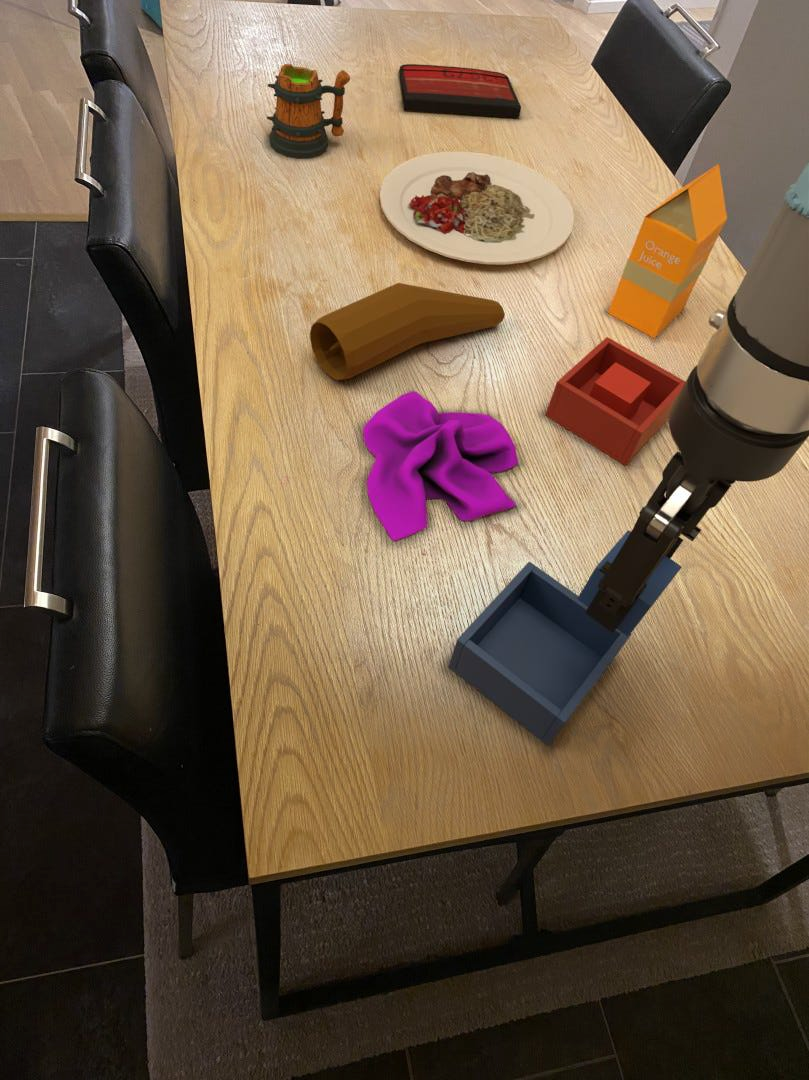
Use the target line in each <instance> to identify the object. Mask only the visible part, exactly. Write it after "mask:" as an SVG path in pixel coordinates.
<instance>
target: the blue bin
mask: <svg viewBox="0 0 809 1080" xmlns="http://www.w3.org/2000/svg"><path fill="white" fill-rule="evenodd" d="M578 596H579V594H577V593H575V592H573V591H572V590H570V589H569V588H568V587H566V586H565V585H564V584H562V583H561V582H560V581H558V580H557V579H555V578H554V577H552V576H551V575H550V574H548V573H547V572H545V571H544V570H543V569H541V568H539V566H536V565H535V564H534V563H532V562H531V561H528V562H526V564H525V565H524V566H523V567H522V568H521V570H520V571H519V572H518V573H517V574H516V575H515V576H514V577H513V578H512V579H511V581H510V582H508V584H507V585H506V586H504V588H503V589H502V590H501V591H500V592H499V593H498V594H497V596H496V597H494V599H493V600H492V601H491V602H490V603H489V604H488V606H487V607H485V609H483V610H482V612H481V613H480V614H479V615H478V616H477V617H476V619H474V620H473V621H472V623H471V624H470V625H469V626H468V627H467V628H466V629H465V630H464V631H463V632H462V633H461V634H460V636H459V637H458V638H457V639H456V642H455V645H454V648H453V650H452V654H451V657H450V660H449V663H448V666H447V667H448V668H449V669H450V670H451V671H452V672H453V673H455V674H456V675H457V676H458V677H460V678H461V679H463V680H464V681H465V682H466V683H467V684H468V685H470V686H471V687H473V688H474V689H475V690H476V691H477V692H479V693H480V694H481V695H482V696H484V697H485V698H487V699H488V700H489V701H490V702H492V703H493V704H494V705H495V706H496V707H498V708H499V709H500V710H502V712H504V713H505V714H507V715H508V716H509V717H511V718H512V719H513V720H514V721H516V723H518V724H519V725H521V726H522V727H523V728H524V729H526V731H528V732H529V733H530V734H532V735H533V736H534V737H536V738H537V739H538V740H540V741H541V742H542V743H543V744H544V745H546V746H547V747H549V746H550V745H551V744H552V743H553V741H554V740H555V738H556V737H557V736H558V734H559V733H560V732H561V731H562V729H563V728H564V726H565V725H566V724H567V723H568V721H569V720H570V719H571V717H572V716H573V714H574V713H575V712H576V710H577V709H578V708H579V706H581V704H582V702H583V701H584V700H585V698H586V697H587V696H588V694H589V693H590V692H591V690H592V689H593V688H594V687H595V685H596V684H597V682H599V680H600V678H601V677H602V676H603V674H604V673H605V672H606V670H607V669H608V668H609V666H610V665H611V664H612V662H613V661H614V660H615V658H616V657H617V656H618V654H619V653H620V652H621V650H622V649H623V647H624V646H625V644H626V643H627V642H628V640H629V639H630V638H631V636H632V634H633V633H632V632H631V634H630V635H629V636H626V635H625V634H624V633H622V632H621V631H620V630H618V629H616V630H615V631H614V633H612V632H611V631H609V630H608V629H606V628H605V627H604V626H602V625H601V624H600V623H598V622H597V621H596V620H594V619H593V618H592V617H590V616H589V615H587V614H586V613H585V612H586V610H587V609H588V607H587V606H586V605H584V604H583V603H582V602H580V601H579V600H578V599H577V598H578Z"/></svg>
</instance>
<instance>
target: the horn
mask: <svg viewBox="0 0 809 1080" xmlns="http://www.w3.org/2000/svg"><path fill="white" fill-rule="evenodd" d="M505 317H506V312H505V311H504V308H503V306H502V305H501V304H500V303H499V301H496V300H493V299H489V298H483V297H478V296H472V295H466V294H461V293H456V292H451V291H445V290H441V289H434V288H429V287H423V286H419V285H418V286H417V285H412V284H407V283H401V282H397V283H395V284H393V285H390V286H387V287H385V288H383V289H380V290H379V291H377V292H374V293H372V294H370V295H368V296H365V297H363V298H361V299H358V300H357V301H353V302H352V303H350V304H347V305H345V306H342V307H341V308H339V309H336V310H334V311H332V312H329V313H327V314H325V315H323V316H321V317H319V318H317V320H316V321H315V322H314V323H313V324H312V325H311V327H310V330H309V331H310V332H309V340H310V344H311V349H312V352H313V354H314V357H315V359H316V361H317V363H318V364H319V366H320V367H321V369H322V370H323V371H324V372H325V373H326V375H328V376H329V377H330V378H332V379H334V380H337V381H342V380H349V379H352V378H353V377H356V376H357V375H359V374H361V373H364V372H366V371H367V370H369V369H371V368H374V367H376V366H378V365H379V364H382V363H384V362H386V361H388V360H390V359H391V358H394V357H396V356H398V355H400V354H402V353H404V352H406V351H408V350H410V349H412V348H413V347H416V346H419V345H421V344H426V343H430V342H434V341H438V340H441V339H447V338H450V337H455V336H459V335H463V334H468V333H472V332H477V331H481V330H485V329H489V328H494V327H496V326H497V325H499V324H500V323H502V322H503V321H504V319H505Z"/></svg>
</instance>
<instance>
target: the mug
mask: <svg viewBox="0 0 809 1080" xmlns="http://www.w3.org/2000/svg"><path fill="white" fill-rule="evenodd" d="M279 70H280V71H279V72H278V75H275V76H274V77H275V78H276V80H275V82H274V83H267V87H268V88H271V89H272V90H274V93H273V96H274V97H276V102H275V107H274V110H275V112H274V113H273V114H272V116H267V117H266V120H268V121H271V122H272V124H273V125H272V127H271V131H270V133H269V135H268V136H269V145H270V147H271V148H272V150H273V151H275V152H276V153H278V154H280V155H282V156H285V157H287V158H291V159H292V158H294V159H297V160H299V159H312V158H317V157H319V156H321V155H323V154H325V153H326V152H327V150H328V148H329V145H330V143H329V142H330V141H329V137H328V134H327V131H326V128H325V127H328V126H331V131H330V132H331V134H332V136H333V137H335V138H336V137H341V136H343V135H344V133H345V130H344V128H343V126H342V125H343V122H344V121H343V117H342V114H343V110H344V95H345V93H346V91H345V90H346V87H345V86H346V85H347V84H348V83H349V82H350V81H351V77H350V74H349V73H348V72H347V71H346V70H343V69H342V70H340V71H338V73H337V74H336V77H335V82H334V85H333V86H332V85H328V84H327V85H326V84H325V85H322V84H321V83H322V82H323V81H324V80H323V78H322V79H319V75H318V71H317V69H310V68H307V67H303V66H294V65H293V64H292V63H284V64H283V65H282V66H281V67H280V69H279ZM324 94H333V95H334V98H333V99H334V101H333V110H332V116H331V118H324V115H323V114H325V111H324V110H322V103H321V101H322V100H323V98H322V96H323V95H324Z"/></svg>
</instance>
